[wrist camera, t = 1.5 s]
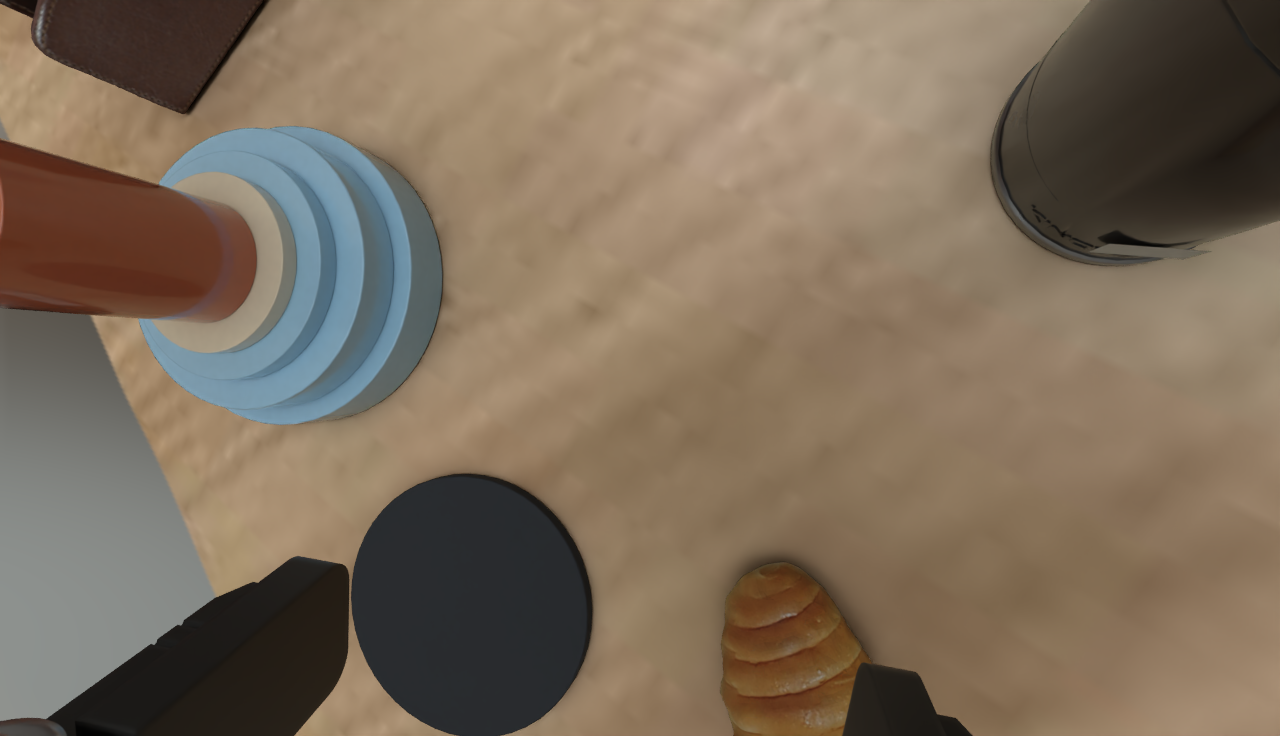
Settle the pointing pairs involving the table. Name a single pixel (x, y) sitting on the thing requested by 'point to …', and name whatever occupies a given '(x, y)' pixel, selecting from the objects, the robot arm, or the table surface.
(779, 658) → the pastry
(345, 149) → the tiered blue disc stack
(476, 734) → the mat
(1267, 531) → the table surface
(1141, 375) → the table surface
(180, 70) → the letter holder
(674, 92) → the table surface
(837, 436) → the table surface
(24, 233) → the tumbler
